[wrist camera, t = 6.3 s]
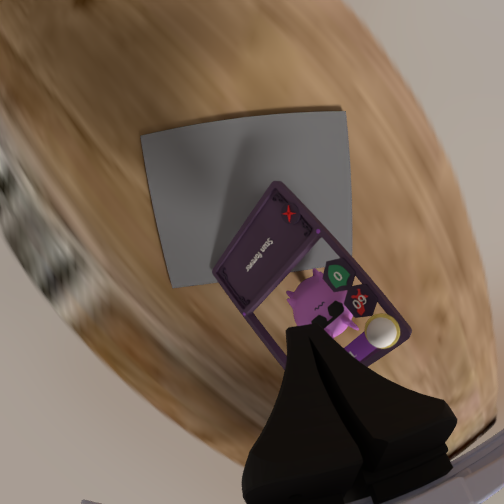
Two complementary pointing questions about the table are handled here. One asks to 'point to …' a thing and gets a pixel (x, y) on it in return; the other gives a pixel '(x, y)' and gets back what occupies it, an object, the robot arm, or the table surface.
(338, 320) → the purple monster photo frame
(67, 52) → the table surface
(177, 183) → the mat
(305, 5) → the table surface
